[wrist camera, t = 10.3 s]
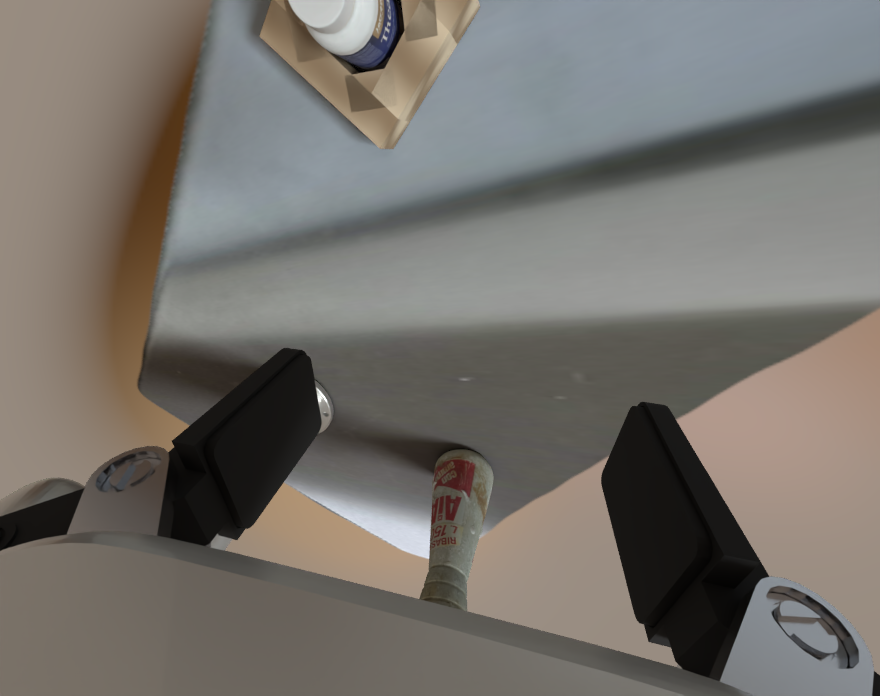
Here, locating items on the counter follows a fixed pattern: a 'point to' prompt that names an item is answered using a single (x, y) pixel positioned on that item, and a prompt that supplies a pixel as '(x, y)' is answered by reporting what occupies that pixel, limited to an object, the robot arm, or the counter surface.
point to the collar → (381, 91)
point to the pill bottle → (354, 28)
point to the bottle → (456, 524)
